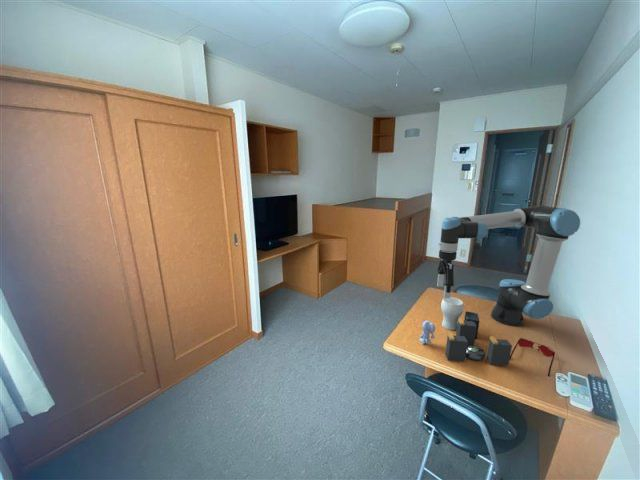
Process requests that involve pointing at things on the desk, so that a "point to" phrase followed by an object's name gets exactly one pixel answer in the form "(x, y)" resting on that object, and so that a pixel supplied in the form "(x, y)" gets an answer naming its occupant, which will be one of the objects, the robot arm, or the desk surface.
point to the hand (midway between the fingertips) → (443, 291)
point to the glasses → (544, 349)
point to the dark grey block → (456, 348)
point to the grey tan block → (466, 330)
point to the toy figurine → (427, 332)
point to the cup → (451, 312)
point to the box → (472, 319)
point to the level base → (475, 353)
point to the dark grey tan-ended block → (498, 352)
